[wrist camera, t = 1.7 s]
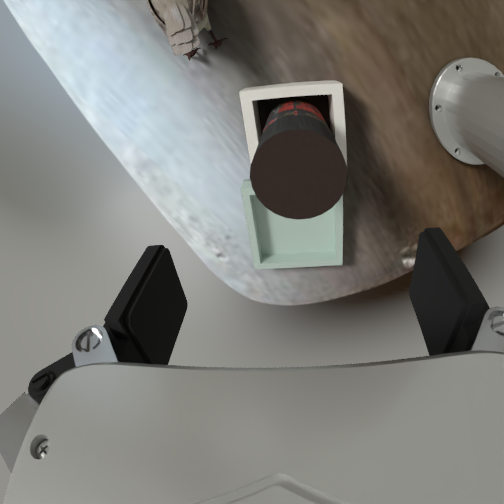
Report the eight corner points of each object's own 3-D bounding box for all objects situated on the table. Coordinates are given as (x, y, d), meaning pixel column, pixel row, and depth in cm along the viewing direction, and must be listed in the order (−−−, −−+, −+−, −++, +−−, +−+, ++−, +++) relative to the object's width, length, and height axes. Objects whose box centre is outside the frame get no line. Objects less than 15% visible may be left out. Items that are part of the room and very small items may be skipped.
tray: (339, 173, 33) (342, 181, 31) (340, 252, 39) (342, 264, 37) (244, 180, 35) (240, 189, 33) (256, 257, 41) (254, 269, 39)
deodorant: (334, 136, 31) (363, 195, 19) (285, 161, 33) (281, 233, 21) (305, 88, 28) (318, 111, 16) (256, 115, 31) (230, 159, 19)
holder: (336, 80, 28) (342, 83, 24) (341, 163, 33) (347, 177, 29) (245, 87, 29) (239, 91, 26) (257, 169, 34) (253, 183, 31)
